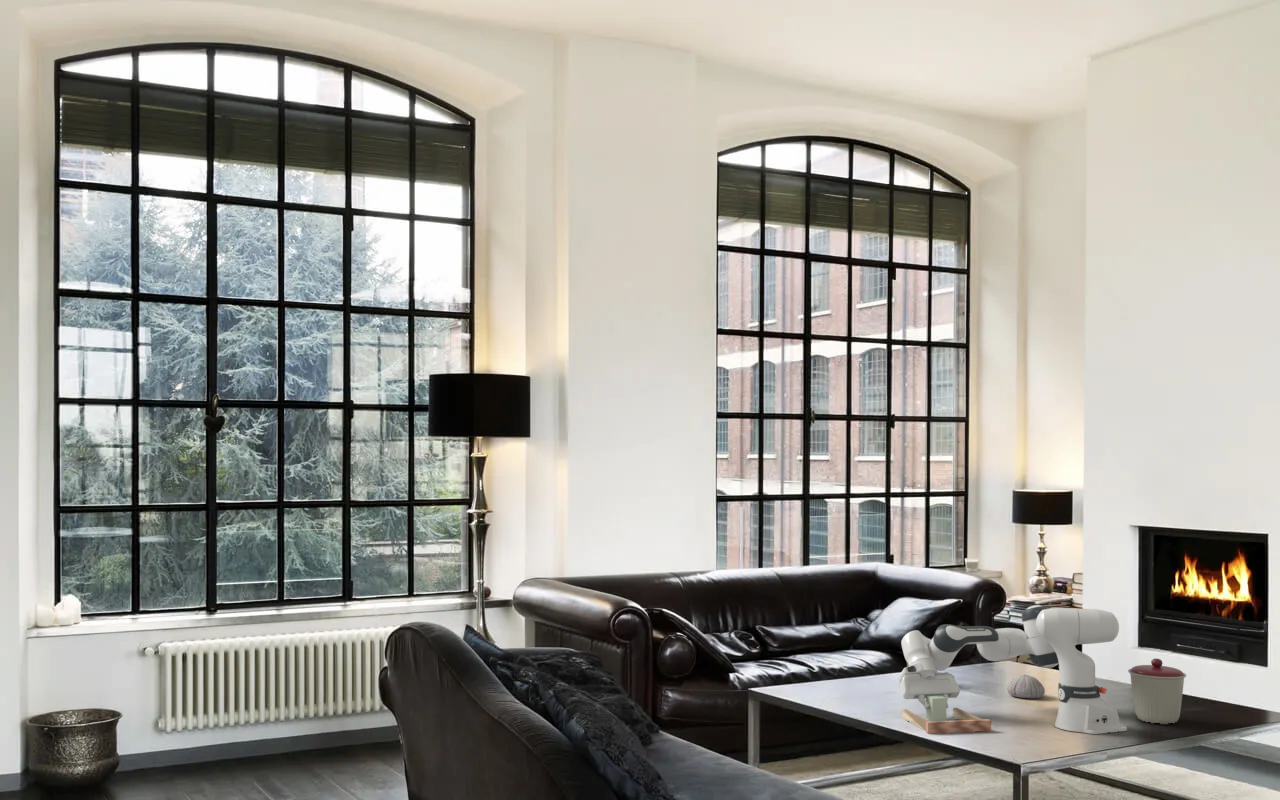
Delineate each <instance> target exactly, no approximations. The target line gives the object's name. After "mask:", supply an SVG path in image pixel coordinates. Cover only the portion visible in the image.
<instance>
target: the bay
mask: <svg viewBox="0 0 1280 800" xmlns="http://www.w3.org/2000/svg"><path fill="white" fill-rule="evenodd" d="M952 717H953V718H954V717H955V718H954V719H956V718H957V719H956V720H946V721H928V720H926V718H924V717H923V716H920V715H918V714H917V713H914V712H912V711H910V710H908V709H906V708H905V709H901V719H902V718H903V719H902V720H904V719H905V720H904V721H906V720H907V721H906V722H908V721H909V722H908V723H910V722H911V723H910V724H912V723H913V724H912V725H914V726H916V727H917V726H918V728H919V727H920V729H922V731H925V733H926V734H929V735H930V734H931V735H932V734H954V733H953V732H958V733H976V732H975V731H985V732H992V720H991V719H988V718H986V719H982V718H980V717H978V716H976V715H974V714H972V713H969V712H967V711H965V710H962V709H960V708H959V707H952ZM950 732H952V733H950Z"/></svg>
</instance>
